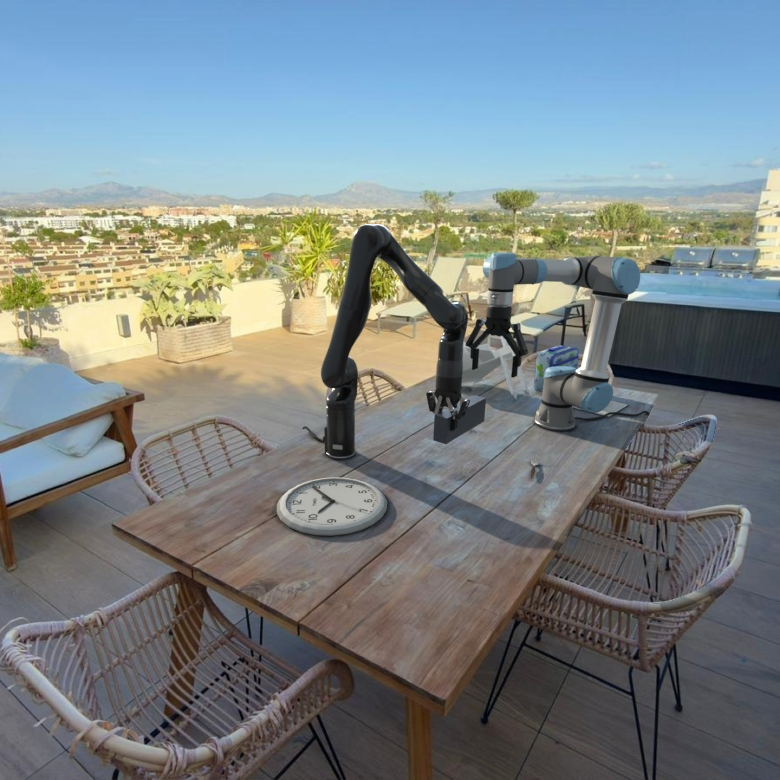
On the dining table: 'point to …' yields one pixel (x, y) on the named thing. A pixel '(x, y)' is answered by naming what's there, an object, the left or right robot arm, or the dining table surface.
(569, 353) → the lunch box
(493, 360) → the white plastic object
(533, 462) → the fork
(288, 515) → the wall clock
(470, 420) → the bar
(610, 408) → the invitation card
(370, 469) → the dining table surface
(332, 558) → the dining table surface
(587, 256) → the right robot arm
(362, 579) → the dining table surface
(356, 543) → the dining table surface
